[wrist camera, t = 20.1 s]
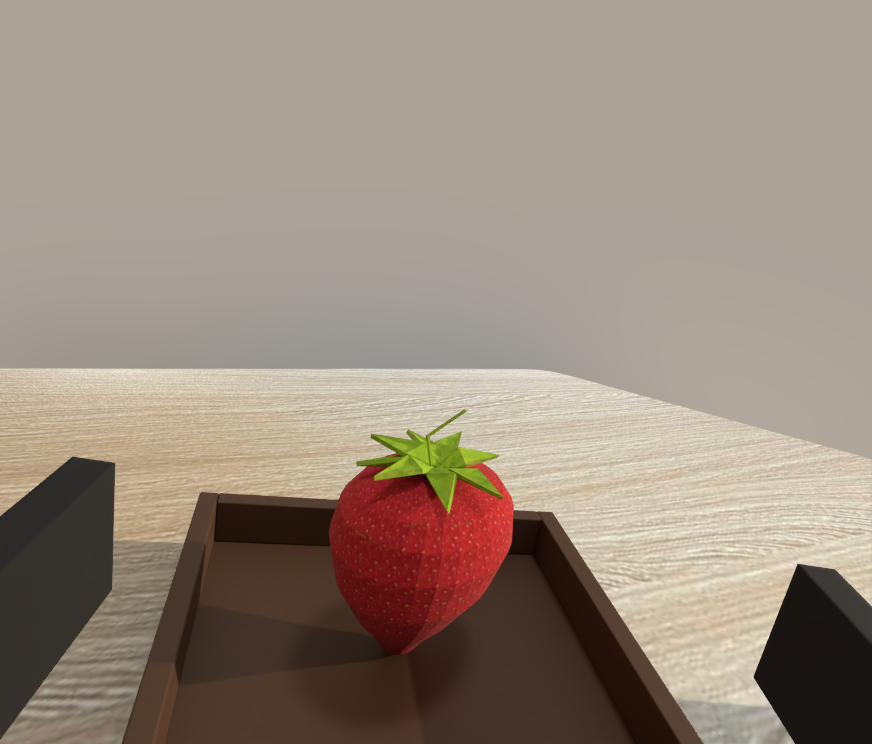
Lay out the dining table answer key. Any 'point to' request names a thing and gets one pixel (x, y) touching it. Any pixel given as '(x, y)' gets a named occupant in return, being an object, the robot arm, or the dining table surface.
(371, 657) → the tray
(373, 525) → the strawberry
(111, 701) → the dining table surface
